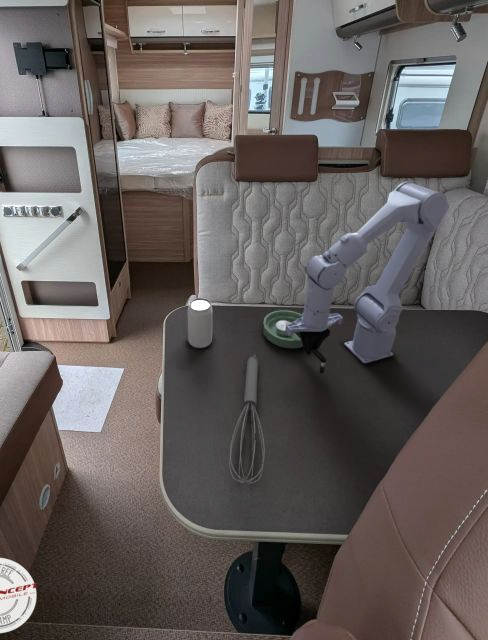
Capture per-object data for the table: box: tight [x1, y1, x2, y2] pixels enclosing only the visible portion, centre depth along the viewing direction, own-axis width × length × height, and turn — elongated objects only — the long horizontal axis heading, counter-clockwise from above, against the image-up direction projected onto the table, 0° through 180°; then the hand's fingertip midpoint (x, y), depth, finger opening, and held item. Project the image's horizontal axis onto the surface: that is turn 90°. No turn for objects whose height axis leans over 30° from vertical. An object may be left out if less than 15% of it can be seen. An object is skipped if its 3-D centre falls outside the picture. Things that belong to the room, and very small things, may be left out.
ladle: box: [275, 321, 327, 375], centre depth 93 cm, size 20×5×5 cm, turn 20°
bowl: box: [262, 309, 303, 349], centre depth 101 cm, size 14×14×3 cm
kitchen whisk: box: [229, 353, 266, 486], centre depth 76 cm, size 6×34×6 cm, turn 172°
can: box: [187, 297, 213, 349], centre depth 95 cm, size 6×6×12 cm
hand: (309, 351), depth 90 cm, fingers closed on ladle
